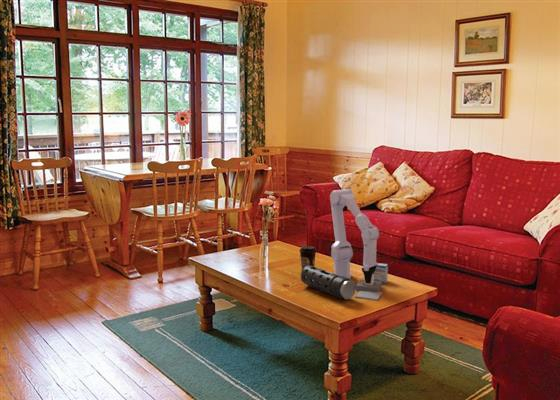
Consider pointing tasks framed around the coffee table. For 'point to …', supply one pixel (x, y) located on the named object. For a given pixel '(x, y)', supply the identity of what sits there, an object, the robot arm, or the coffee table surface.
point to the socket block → (374, 288)
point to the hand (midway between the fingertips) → (369, 281)
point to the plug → (371, 281)
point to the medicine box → (381, 273)
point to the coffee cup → (307, 256)
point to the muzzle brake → (328, 282)
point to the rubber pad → (368, 295)
